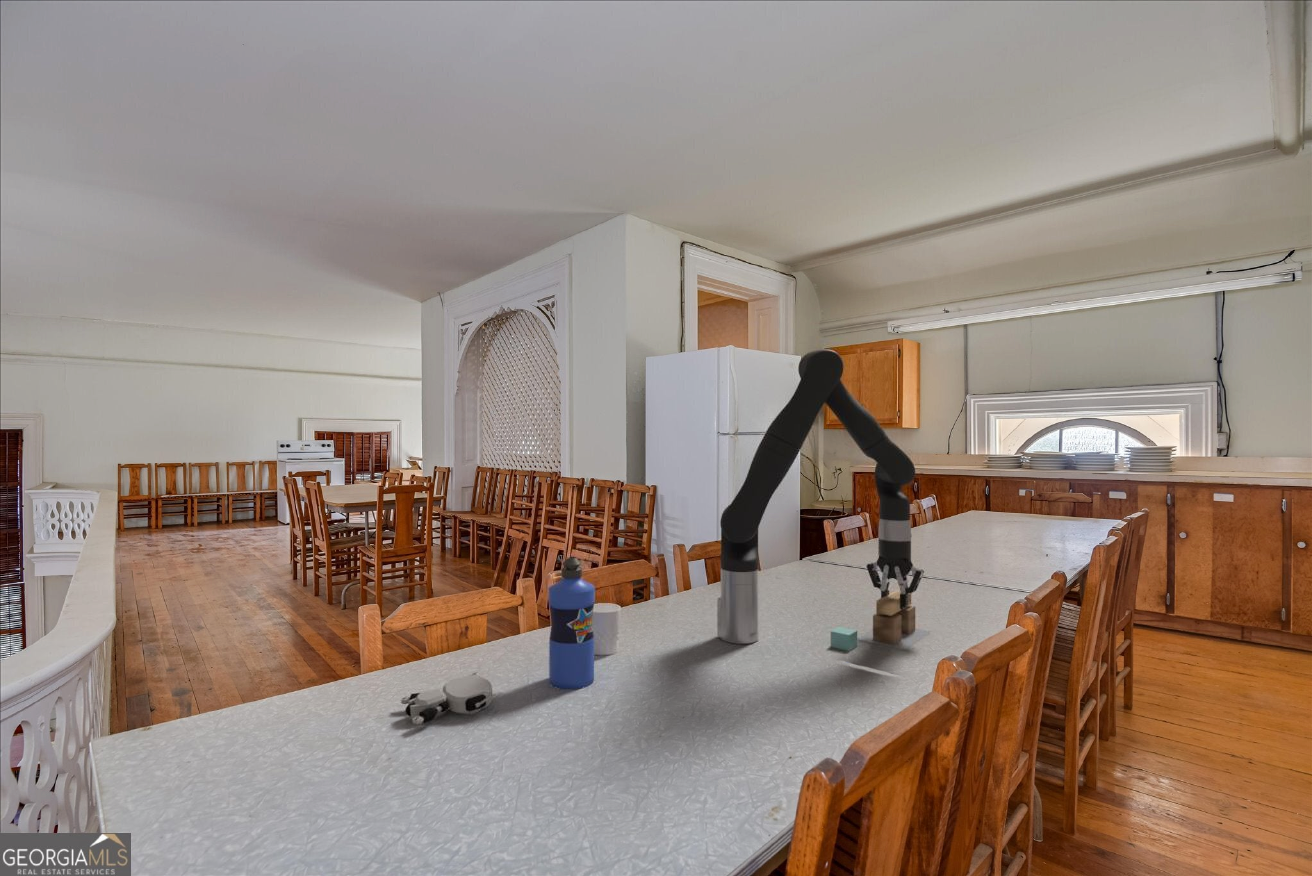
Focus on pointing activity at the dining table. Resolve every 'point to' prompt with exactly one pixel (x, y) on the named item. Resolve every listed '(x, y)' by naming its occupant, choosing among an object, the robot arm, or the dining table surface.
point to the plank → (890, 603)
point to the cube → (844, 638)
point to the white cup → (606, 628)
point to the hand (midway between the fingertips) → (894, 607)
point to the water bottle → (571, 629)
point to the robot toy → (450, 698)
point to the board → (905, 640)
